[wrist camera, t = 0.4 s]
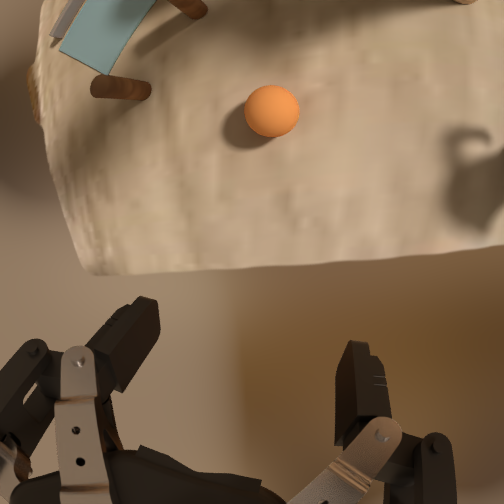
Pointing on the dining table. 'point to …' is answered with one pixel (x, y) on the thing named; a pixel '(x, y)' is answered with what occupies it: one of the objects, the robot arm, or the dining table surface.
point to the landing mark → (103, 31)
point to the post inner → (191, 7)
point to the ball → (271, 111)
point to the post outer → (119, 88)
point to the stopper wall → (66, 18)
